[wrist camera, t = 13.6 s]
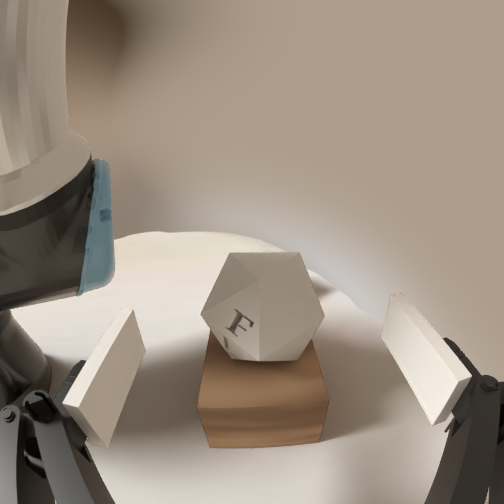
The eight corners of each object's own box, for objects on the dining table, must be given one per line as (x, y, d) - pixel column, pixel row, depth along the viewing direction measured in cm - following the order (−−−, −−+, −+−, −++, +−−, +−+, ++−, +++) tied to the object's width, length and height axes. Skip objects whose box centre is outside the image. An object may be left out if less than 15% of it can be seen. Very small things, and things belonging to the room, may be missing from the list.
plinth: (318, 442, 19) (329, 400, 17) (210, 447, 19) (196, 407, 17) (298, 348, 31) (300, 304, 29) (220, 352, 31) (214, 308, 29)
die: (202, 335, 26) (162, 294, 17) (261, 268, 29) (251, 203, 21) (274, 392, 22) (269, 382, 14) (332, 315, 26) (356, 263, 17)
